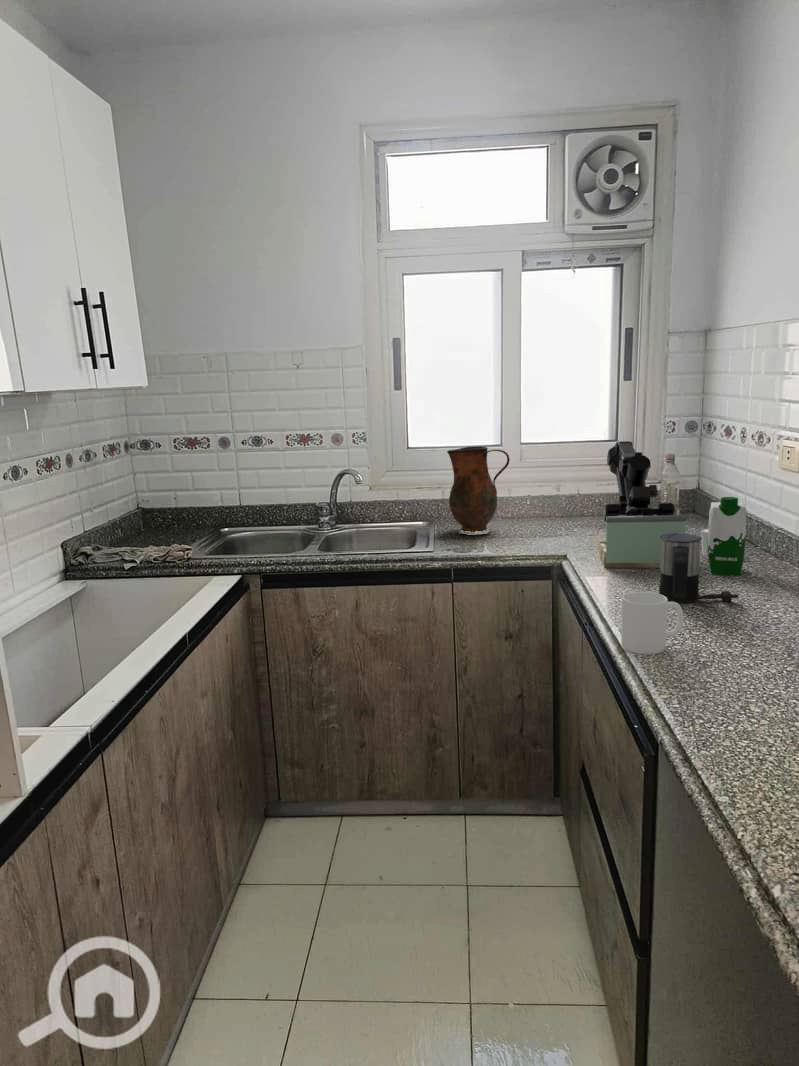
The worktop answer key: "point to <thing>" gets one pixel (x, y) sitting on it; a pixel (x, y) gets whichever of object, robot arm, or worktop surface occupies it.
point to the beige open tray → (623, 565)
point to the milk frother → (683, 569)
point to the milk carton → (726, 536)
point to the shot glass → (704, 541)
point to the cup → (647, 622)
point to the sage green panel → (639, 537)
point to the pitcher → (473, 488)
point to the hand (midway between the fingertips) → (641, 537)
